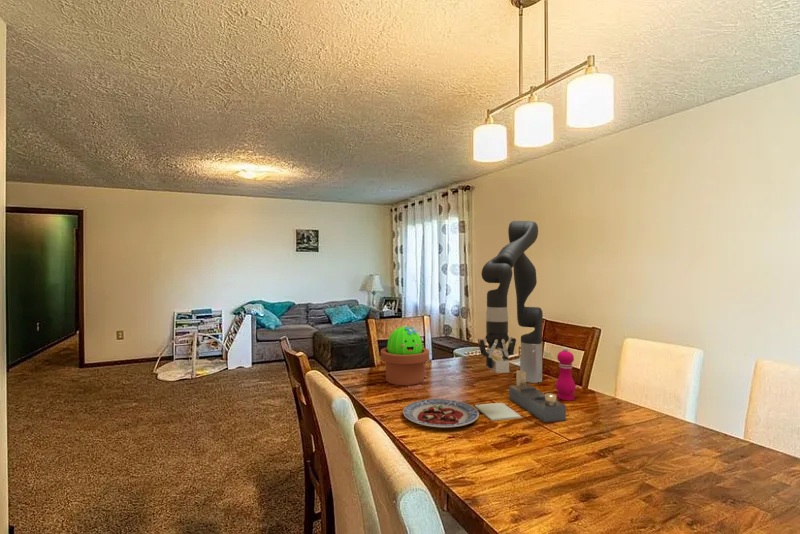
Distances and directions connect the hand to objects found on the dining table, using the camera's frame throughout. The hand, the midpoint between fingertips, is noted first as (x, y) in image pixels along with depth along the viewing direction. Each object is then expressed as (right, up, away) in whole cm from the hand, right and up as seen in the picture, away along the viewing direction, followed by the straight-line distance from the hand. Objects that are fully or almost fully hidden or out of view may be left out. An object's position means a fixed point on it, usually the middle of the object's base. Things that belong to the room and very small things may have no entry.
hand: (497, 367), depth 140 cm
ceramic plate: (-21, -16, -4) cm, 27 cm away
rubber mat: (0, -16, 0) cm, 16 cm away
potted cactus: (-32, -16, +40) cm, 54 cm away
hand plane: (+15, -16, +3) cm, 22 cm away
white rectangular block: (0, -1, 0) cm, 1 cm away
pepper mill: (+30, -16, +15) cm, 38 cm away
